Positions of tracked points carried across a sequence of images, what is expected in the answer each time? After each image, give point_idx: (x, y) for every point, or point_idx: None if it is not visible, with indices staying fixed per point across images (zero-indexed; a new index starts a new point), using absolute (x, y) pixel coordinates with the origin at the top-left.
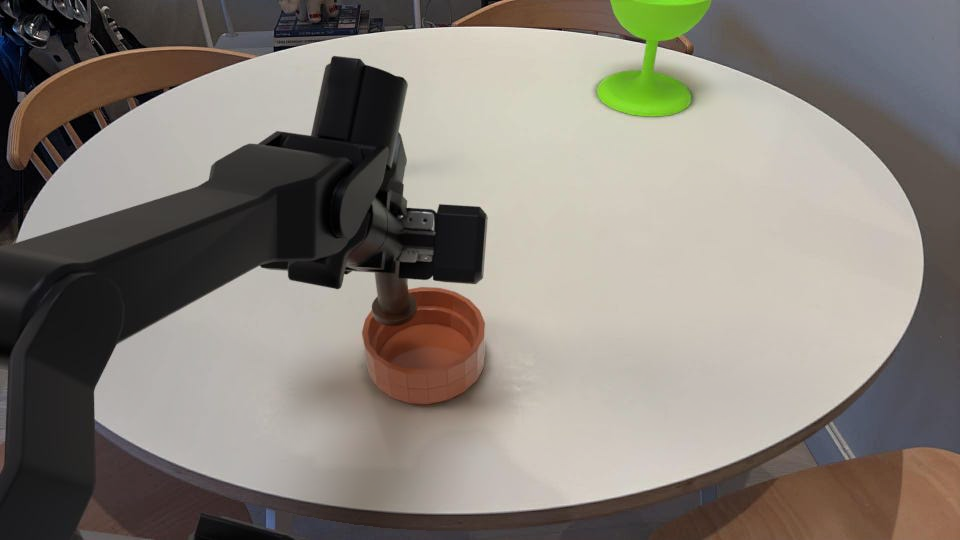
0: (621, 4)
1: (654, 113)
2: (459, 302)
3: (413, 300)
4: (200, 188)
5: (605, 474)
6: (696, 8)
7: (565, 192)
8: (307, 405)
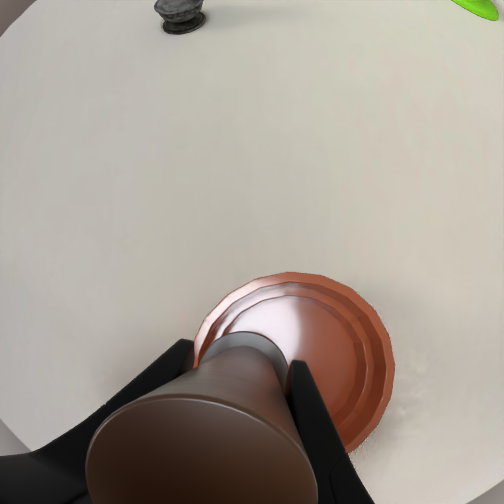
0: None
1: (481, 14)
2: (355, 307)
3: (282, 365)
4: None
5: (452, 497)
6: None
7: (440, 72)
8: None
